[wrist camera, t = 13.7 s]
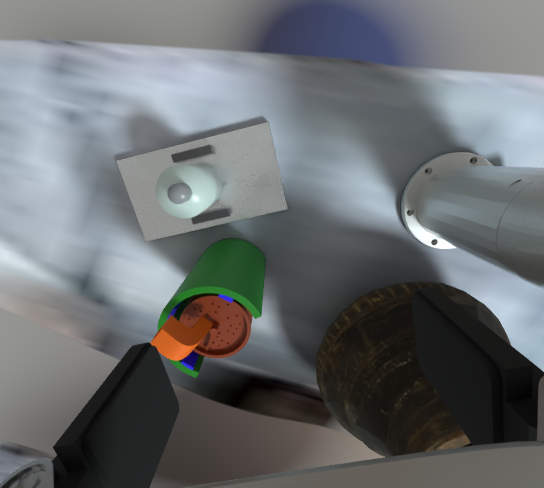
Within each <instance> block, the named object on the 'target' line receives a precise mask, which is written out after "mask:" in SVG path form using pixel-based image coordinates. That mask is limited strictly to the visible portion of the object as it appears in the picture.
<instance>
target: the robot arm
mask: <svg viewBox="0 0 544 488" xmlns="http://www.w3.org/2000/svg"><path fill="white" fill-rule="evenodd" d="M470 160H471V161H470ZM426 169H427V172H426V173H425V170H426ZM408 210H409V212H408V213H407V211H408ZM401 215H402V219H403V222H404V225H405V227H406V228H407V230H408V232H409V233H410V234H411V235H412V236H413V237H414V238H415V239H416V240H418V241H419V242H421V243H423V244H424V245H426V246H429V247H432V248H437V249H454V248H459V249H461V250H463V251H465V252H467V253H469V254H471V255H473V256H475V257H477V258H479V259H481V260H483V261H485V262H487V263H489V264H491V265H493V266H495V267H498V268H500V269H502V270H504V271H506V272H508V273H510V274H512V275H514V276H516V277H518V278H520V279H522V280H524V281H526V282H528V283H531V284H533V285H535V286H538V287H541V288H544V168H532V167H502V166H493V165H492V164H491V163H490V162H489V161H488V160H487V159H485V158H483V157H481V156H479V155H476V154H473V153H467V152H453V153H447V154H443V155H440V156H438V157H435V158H433V159H431V160H430V161H428V162H427V163H425V164H423V165H422V166H421V167H420V168H419V169H418V170H417V171H416V172H415V173H414V175H413V176H412V177H411V178H410V180H409V182H408V184H407V185H406V187H405V190H404V193H403V196H402V202H401ZM432 240H433V241H432ZM431 241H432V242H431ZM411 302H412V311H413V320H414V329H415V338H416V347H417V356H418V362H419V365H420V368H421V370H422V371H423V373H424V374H425V376H426V377H427V379H428V380H429V382H430V383H431V385H432V386H433V388H434V389H435V391H436V392H437V393H438V395H439V396H440V398H441V399H442V401H443V402H444V404H445V405H446V407H447V408H448V410H449V411H450V413H451V414H452V416H453V417H454V418H455V420H456V421H457V423H458V424H459V426H460V427H461V429H462V430H463V432H464V433H465V435H466V436H467V438H468V439H469V441H470V442H471V443H472V445H473V446H467V447H459V448H451V449H443V450H436V451H428V452H420V453H412V454H406V455H399V456H392V457H385V458H378V459H372V460H364V461H357V462H351V463H344V464H337V465H330V466H324V467H316V468H310V469H303V470H296V471H290V472H284V473H277V474H270V475H263V476H257V477H250V478H244V479H238V480H232V481H225V482H218V483H211V484H205V485H198V486H192V487H186V488H544V372H543V371H542V370H541V369H539V368H538V367H537V366H536V365H534V364H533V363H532V362H531V361H529V360H528V359H527V358H526V357H524V356H523V355H522V354H521V353H519V352H518V351H517V350H516V349H514V348H513V347H512V346H511V345H509V344H508V343H507V342H506V341H504V340H503V339H502V338H501V337H500V336H498V335H497V334H496V333H495V332H493V331H492V330H491V329H490V328H488V327H487V326H486V325H485V324H483V323H482V322H481V321H479V320H477V319H475V318H474V317H472V316H471V315H470V314H469V313H467V312H466V311H465V310H464V309H463V308H461V307H460V306H459V305H458V304H456V303H455V302H454V301H453V300H451V299H450V298H449V297H448V296H446V295H445V294H444V293H443V292H442V291H440V290H439V289H438V288H437V287H435V286H431V287H426V288H421V289H417V290H416V294H413V295H411ZM178 413H179V403H178V400H177V397H176V395H175V392H174V390H173V388H172V385H171V382H170V380H169V377H168V375H167V372H166V370H165V367H164V365H163V362H162V360H161V357H160V355H159V352H158V350H157V348H156V346H154V345H153V346H152V345H151V344H150V343H143V344H138V345H134V346H132V347H131V348H130V349H129V350H128V352H127V353H126V354H125V355H124V357H123V358H122V359H121V361H120V362H119V363H118V365H117V366H116V367H115V368H114V370H113V371H112V372H111V373H110V375H109V376H108V377H107V379H106V380H105V381H104V382H103V384H102V385H101V386H100V388H99V389H98V390H97V391H96V393H95V394H94V395H93V397H92V398H91V399H90V400H89V402H88V403H87V404H86V405H85V407H84V408H83V409H82V411H81V412H80V413H79V414H78V416H77V417H76V418H75V420H74V421H73V422H72V423H71V425H70V426H69V427H68V429H67V430H66V431H65V433H64V434H63V435H62V436H61V438H60V439H59V440H58V441H57V443H56V444H55V445H54V447H53V448H54V450H55V452H56V454H57V456H56V457H55V458H54V460H53V461H52V460H50V459H48V458H41V459H37V460H34V461H31V462H29V463H28V464H26V465H24V466H22V467H20V468H19V469H18V470H16V471H15V472H13V473H12V474H10V475H9V476H8V477H7V478H6V479H5V480H4V481H2V482H1V483H0V488H149V487H150V484H151V482H152V479H153V477H154V474H155V472H156V469H157V467H158V464H159V462H160V459H161V456H162V454H163V451H164V449H165V446H166V444H167V441H168V439H169V436H170V433H171V431H172V428H173V426H174V423H175V420H176V418H177V415H178Z"/></svg>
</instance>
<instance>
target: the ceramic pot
mask: <svg viewBox="0 0 544 488" xmlns="http://www.w3.org/2000/svg"><path fill="white" fill-rule="evenodd" d="M431 286H435V287H437V288H438V289H439V290H440V291H442V292H443V293H444V294H445V295H446V296H448V297H449V298H450V299H451V300H453V301H454V302H455V303H456V304H458V305H459V306H460V307H461V308H463V309H464V310H465V311H466V312H467V313H469V314H470V315H471V316H472V317H474V318H475V319H477V320H479V321H481V322H482V323H483V324H485V325H486V326H487V327H488V328H490V329H491V330H492V331H493V332H495V333H496V334H497V335H498V336H500V337H501V338H502V339H503V340H504V341H506V342H507V343H508V344H509V345H511V344H510V341H509V339H508V336H507V334H506V332H505V330H504V328H503V326H502V325H501V323H500V321H499V319H498V318H497V317H496V316H495V315H494V314H493V313H492V312H491V311H490V310H489V309H488V308H487V307H486V306H485V305H484V304H483V303H481V302H480V301H478V300H477V299H475V298H474V297H472V296H471V295H469V294H468V293H466V292H464V291H462V290H459V289H457V288H454V287H452V286H449V285H446V284H443V283H431V282H411V283H401V284H396V285H392V286H388V287H385V288H381V289H377V290H374V291H372V292H370V293H368V294H366V295H364V296H362V297H360V298H358V299H357V300H356V301H355V302H354V303H352V304H351V305H350V306H349V307H348V308H347V309H345V310H344V311H343V312H342V313H341V314H340V315H339V316H338V317H337V318H336V320H335V321H334V322H333V323H332V325H331V326H330V327H329V329H328V330H327V332H326V334H325V337H324V339H323V341H322V343H321V346H320V348H319V350H318V353H317V355H316V374H317V383H318V386H319V389H320V392H321V395H322V398H323V401H324V404H325V406H326V407H327V409H328V410H329V412H330V413H331V414H332V416H333V417H334V418H335V419H336V420H337V421H338V422H339V423H340V424H341V425H342V426H343V427H344V428H345V429H346V430H347V431H348V432H350V433H351V434H352V435H354V436H355V437H356V438H357V439H359V440H360V441H362V442H363V443H364V444H365V445H366V446H367V447H368V448H370V449H371V450H373V451H375V452H377V453H378V454H380V455H382V456H385V457H392V456H399V455H406V454H412V453H420V452H428V451H436V450H443V449H451V448H459V447H467V446H473V445H472V443H471V442H470V441H469V439H468V438H467V436H466V435H465V433H464V432H463V430H462V429H461V427H460V426H459V424H458V423H457V421H456V420H455V418H454V417H453V416H452V414H451V413H450V411H449V410H448V408H447V407H446V405H445V404H444V402H443V401H442V399H441V398H440V396H439V395H438V393H437V392H436V391H435V389H434V388H433V386H432V385H431V383H430V382H429V380H428V379H427V377H426V376H425V374H424V373H423V371H422V370H421V368H420V365H419V362H418V356H417V347H416V338H415V329H414V320H413V311H412V302H411V295H413V294H416V290H417V289H421V288H426V287H431Z"/></svg>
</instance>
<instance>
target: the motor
mask: <svg viewBox="0 0 544 488" xmlns="http://www.w3.org/2000/svg"><path fill="white" fill-rule="evenodd" d="M265 262H266V258H265V256H264V255H263V253H262V252H261V251H260V250H259V249H258V248H257V247H256V246H254V245H253V244H251V243H249V242H247V241H244V240H241V239H224V240H221V241H218V242H216V243H214V244H213V245H211V246H210V247H209V248H208V249H207V250H206V251H205V252H204V254H203V255H202V257H201V258H200V259H199V261H198V262H197V263H196V265H195V266H194V268H193V269H192V270H191V272H190V273H189V275H188V276H187V277H186V279H185V280H184V282H183V283H182V284H181V286H180V287H179V289H178V290H177V291H176V293H175V294H174V296H173V297H172V298H171V300H170V301H169V302H168V304H167V305H166V307H165V308H164V310H163V311H162V313H161V316H160V319H159V323H158V332H157V334H156V336H155V337H154V339H153V340H152V342H151V343H150V344H151V345H152V346H153V345H154V346H156V348H157V350H158V351H159V352H160V353H161V354H162V355H164V356H165V357H167V358H168V359H169V360H170V361H171V363H173V364H174V365H175V366H176V367H177V368H178V369H180V370H181V371H183V372H185V373H186V374H189V375H191V376H193V377H197V375H198V373H199V370H200V367H201V364H202V361H203V358H204V356H205V357H210V358H224V357H228V356H231V355H234V354H235V353H237V352H239V351H240V350H241V349H242V348H243V347H244V346H245V345H246V343H247V341H248V339H249V336H250V331H251V323H252V315H253V317H254V318H255V319H256V318H258V317H261V314H262V301H263V288H264V275H265ZM210 347H211V348H210Z"/></svg>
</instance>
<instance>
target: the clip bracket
mask: <svg viewBox="0 0 544 488" xmlns="http://www.w3.org/2000/svg"><path fill="white" fill-rule="evenodd" d="M116 162H117V165H118V167H119V170H120V173H121V176H122V178H123V181H124V184H125V186H126V189H127V192H128V195H129V197H130V200H131V203H132V205H133V208H134V211H135V214H136V216H137V219H138V222H139V225H140V227H141V230H142V233H143V235H144V238H145V241H151V240H155V239H159V238H164V237H168V236H173V235H177V234H181V233H186V232H190V231H194V230H199V229H203V228H208V227H212V226H216V225H221V224H225V223H229V222H234V221H238V220H243V219H247V218H251V217H256V216H260V215H265V214H269V213H273V212H278V211H282V210H286V209H288V208H287V204H286V199H285V195H284V190H283V185H282V181H281V176H280V172H279V167H278V163H277V158H276V154H275V149H274V145H273V140H272V136H271V131H270V126H269V122H266V123H262V124H258V125H254V126H250V127H246V128H243V129H239V130H235V131H231V132H227V133H223V134H219V135H215V136H211V137H207V138H203V139H199V140H196V141H192V142H188V143H184V144H180V145H176V146H172V147H168V148H164V149H160V150H156V151H152V152H148V153H145V154H141V155H137V156H133V157H129V158H125V159H121V160H117V161H116ZM188 164H205V165H208V166H211V167H212V168H214V169H215V170H216V171H217V172H218V173H219V175H220V177H221V179H222V183H223V191H222V194H221V197H220V198H219V200H218V201H217V202H216V203H214V204H213V205H211V206H210V207H209V208H207V209H206V210H204V211H203V212H201V213H200V214H198V215H197V216H195V217H192V218H187V219H182V218H177V217H174V216H172V215H170V214H169V213H167V212H166V211H165V210H164V209H163V208H162V207H161V205H160V203H159V202H158V199H157V196H156V183H157V180H158V178H159V176H160V175H161V173H162V172H163V171H164V170H166V169H167V168H169V167H171V166H175V165H188Z"/></svg>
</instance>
